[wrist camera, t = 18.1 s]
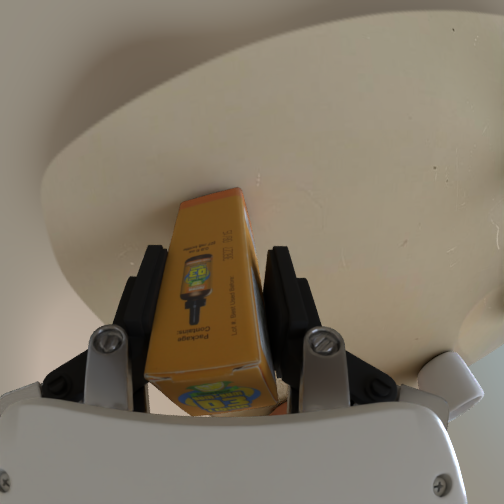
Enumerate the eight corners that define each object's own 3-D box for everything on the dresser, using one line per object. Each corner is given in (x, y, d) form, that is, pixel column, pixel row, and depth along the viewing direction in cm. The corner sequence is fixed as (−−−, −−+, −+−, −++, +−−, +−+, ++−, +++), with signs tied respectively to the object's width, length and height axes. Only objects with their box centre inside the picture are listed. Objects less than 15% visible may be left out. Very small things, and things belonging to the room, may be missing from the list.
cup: (459, 364, 32) (479, 406, 26) (415, 390, 35) (431, 434, 28) (460, 335, 27) (488, 387, 20) (406, 368, 29) (428, 423, 22)
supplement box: (200, 252, 17) (184, 422, 8) (180, 199, 15) (131, 374, 6) (257, 238, 16) (281, 411, 8) (242, 183, 14) (259, 359, 6)
